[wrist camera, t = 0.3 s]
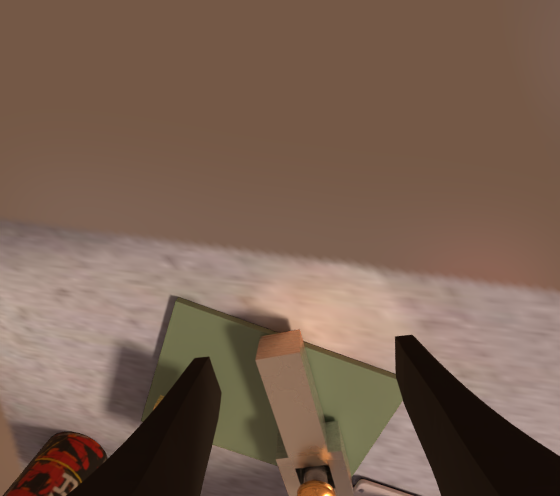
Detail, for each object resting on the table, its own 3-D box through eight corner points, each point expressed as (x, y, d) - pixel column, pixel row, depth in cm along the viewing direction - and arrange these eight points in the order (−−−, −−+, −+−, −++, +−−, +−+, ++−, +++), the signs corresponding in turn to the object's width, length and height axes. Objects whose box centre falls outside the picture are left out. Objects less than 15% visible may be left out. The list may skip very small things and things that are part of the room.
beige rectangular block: (349, 464, 27) (354, 497, 25) (292, 471, 28) (291, 503, 25) (313, 326, 23) (314, 349, 20) (247, 338, 24) (240, 362, 21)
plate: (343, 480, 29) (344, 487, 29) (144, 415, 28) (140, 421, 27) (410, 379, 25) (412, 385, 24) (178, 297, 24) (175, 301, 23)
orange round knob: (322, 459, 28) (326, 520, 23) (292, 449, 27) (291, 508, 23) (336, 437, 27) (342, 496, 22) (305, 427, 26) (305, 484, 22)
